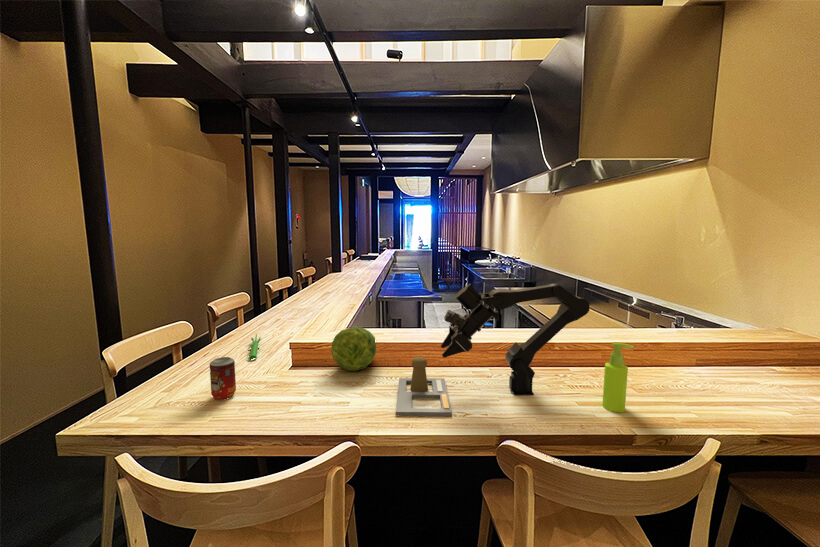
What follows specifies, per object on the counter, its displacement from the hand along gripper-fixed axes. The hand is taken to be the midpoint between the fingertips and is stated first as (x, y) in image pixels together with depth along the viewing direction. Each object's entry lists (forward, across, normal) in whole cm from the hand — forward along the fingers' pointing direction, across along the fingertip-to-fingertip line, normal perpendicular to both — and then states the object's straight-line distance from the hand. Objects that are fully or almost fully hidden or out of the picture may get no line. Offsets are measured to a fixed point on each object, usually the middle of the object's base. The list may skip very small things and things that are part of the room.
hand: (442, 351), depth 116 cm
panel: (+14, +6, +5) cm, 16 cm away
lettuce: (+32, -22, -13) cm, 41 cm away
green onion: (+69, -38, -49) cm, 93 cm away
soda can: (+59, +8, -40) cm, 72 cm away
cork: (+15, 0, +4) cm, 15 cm away
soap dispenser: (-27, +10, +46) cm, 54 cm away
